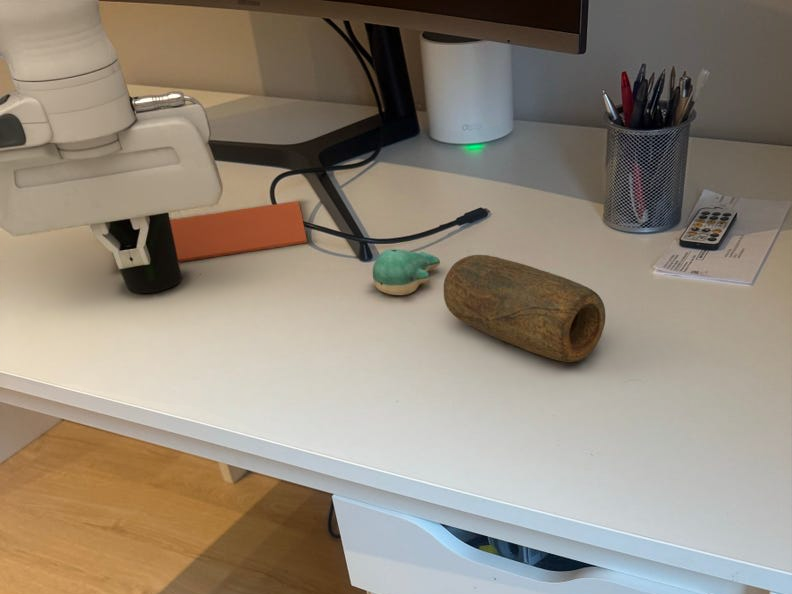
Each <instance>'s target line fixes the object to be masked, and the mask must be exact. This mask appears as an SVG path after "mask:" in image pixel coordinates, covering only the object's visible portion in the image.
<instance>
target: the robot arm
mask: <svg viewBox="0 0 792 594" xmlns="http://www.w3.org/2000/svg"><path fill="white" fill-rule="evenodd" d="M0 59H1V60H2V61H3V62H4V63H5V64H6V67H7V69H8V72H9V75H10V78H11V82H12V83H13V86H14V90H12V91H10V92H9V93H7V94H5V95H4V96H1V97H0V228H1V229H2V230H4V231H5V232H7V233H8V234H9V235H11V236H12V237H21V236H23V237H24V236H29V235H35V234H42V233H46V232H54V231H59V230H66V229H67V230H68V229H72V228H80V227H86V226H89V227H90V230H91V233H92V235H93V237H94V238H95V239H96V240H97V241H98V242H99V243H100V244H101V245H102V246H104V247H105V248H106V249H107V250H108V251H109V252H110V253H112V252H113V254H112V256H113V255H114V256H113V258H114V257H115V258H114V261H115V260H116V261H115V263H116V265H117V268H118V270H119V269H125V268H129V267H136V266H143V265H149V264H150V255H149V252H148V249H147V246H146V244H145V243H146V238H147V233H148V228H149V222H150V219H149V216H150V215H156V214H162V213H169V214H170V213H175V212H181V211H188V210H193V209H200V208H207V207H211V206H212V207H213V206H216V205H217V204H219V201H220V199H221V198H222V195H223V191H224V189H223V188H224V187H223V182H222V177H221V174H220V171H219V167H218V165H217V162H216V160H215V157H214V154H213V152H212V149H211V147H210V144H209V142H210V139H211V135H212V134H211V133H212V132H211V131H212V130H211V126H210V122H209V118H208V114H207V111H206V109H205V107H204V106H203V104H202V103H201V102H200V101H199V100H198V99H196V98H195V97H193V96H190V95H188V94H187V95H186V94H184V92H183V91H181V90H179V91H178V90H177V91H176V90H174V91H173V90H172V91H168V92H167V93H162V94H146V95H140V96H139V95H138V96H133V97H132V96H130V91H129V89H128V85H127V82H126V78H125V75H124V72H123V68H122V66H121V62H120V60H119V57H118V53H117V51H116V49H115V47H114V45H113V44H112V42H111V40H110V39H109V37H108V35H107V32H106V30H105V28H104V25H103V21H102V18H101V11H100V0H0ZM186 102H190V103H186ZM124 219H130V221H131V223H132V226H133V229H135V230H136V229H139V228H140V231H139V236H138V241H137V242H131V243H125V244H121V243H120V242H119V241H118V240H117V239H116V238H115V237H114V236H113V235H112V234H111V233H110V232H109V227H110V223H109V222H112V221H118V220H124Z"/></svg>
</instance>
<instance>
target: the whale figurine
mask: <svg viewBox="0 0 792 594" xmlns="http://www.w3.org/2000/svg"><path fill="white" fill-rule="evenodd" d="M440 264H441V260H440V259H439V257H437V256H435V255H434V254H431V253H427V252H424V251H419V252H415V251H412V250H406V249H399V248H388V249H386V250H384V251H382V252H381V253H380V254H379V255H378V256H377V257H376V259H375V260H374V263H373V266H372V278H373V283H374V286H375V287H376V289H377V290H379V291H380V292H383V293H385V294H388V295H392V296H405V295H410V294H412V293H413V292H415V291H416V290H417V289H418V287H419V286H420V285H421V284H425V283H428V282H429V281H430V278H431V276H430V273H429V272H428V271H432V270H435V269H436V268H438V267H439V266H440Z"/></svg>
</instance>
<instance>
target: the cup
mask: <svg viewBox="0 0 792 594" xmlns="http://www.w3.org/2000/svg"><path fill="white" fill-rule="evenodd" d="M170 218H171V217H170V212H169V213H162V214H156V215H150V216H149V219H150V222H149V228H148V233H147V238H146V243H145V244H146V246H147V249H148V252H149V255H150V264H149V265H143V266H136V267H129V268H125V269H119V268H118V270H119V272H120V274H121V276H122V278H123V281H124V283H125V285H126V287H127V289H128V290H129V291H130V292H132V293H138V294H147V293H156V292H160V291H165V290H167V289H169V288H172V287H174V286H176V285H177V284H179V283H180V282H181V281H182V279H183V278H182V272H181V268H180V262H178V257H177V252H176V247H175V242H174V238H173V233H172V228H171V223H170V220H171V219H170ZM109 223H110V227H109V232H110V233H111V234H112V235H113V236H114V237H115V238H116V239H117V240H118V241H119V242H120V243H121V244H125V243H131V242H137V241H138V236H139V231H140V228H139V229H136V230H135V229H133V226H132V223H131V221H130V219H124V220H118V221H112V222H109ZM111 255H112V256H113V258H114V261H115V262H116V260H115V257H114V255H113V252H111Z"/></svg>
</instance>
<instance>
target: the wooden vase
mask: <svg viewBox="0 0 792 594" xmlns="http://www.w3.org/2000/svg"><path fill="white" fill-rule="evenodd" d="M443 300H444V303H445V305H446V308H447V309H448V311H449V312H450V313H451V314H452V315H453V316H454V317H456V318H457V319H458V320H459V321H460V322H461V321H462V322H463V323H464V324H467V325H469V326H470V327H471V328H474V329H476V330H478V331H480V332H483V333H484V334H487V335H488V336H491V337H492V338H496V339H498V340H500V341H503V342H506V343H508V344H511V345H513V346H515V347H517V348H521V349H522V350H525V351H527V352H530V353H532V354H536V355H539V356H542V357H545V358H547V359H551V360H555V361H561V362H565V363H572V362H578V361H581V360H583V359H584V358H586V357H587V356H589V355H590V354H591V353H592V352H593V350H594V349H595V348H596V346H597V344H598V343H599V342H600V339H601V337H602V334H603V332H604V328H605V324H606V308H605V307H606V306H605V304H604V301H603V299H602V298H601V296H600V295H599V293H597V292H596V291H595V290H593V289H592V288H589V287H588V286H586V285H583V284H581V283H579V282H576V281H574V280H573V279H572V280H571V279H569V278H567V277H564V276H560V275H558V274H557V275H556V274H555V273H552V272H549V271H545V270H542V269H539V268H536V267H533V266H530V265H528V264H524V263H520V262H518V261H513V260H509V259H505V258H501V257H498V256H493V255H492V256H491V255H487V254H473V255H469V256H465V257H463V258H461V259H459V260H457V261H456V262H455V263H454V264H453V265H452V266H451V267H450V269H449V270H448V272H447V274H446V276H445V278H444V283H443Z"/></svg>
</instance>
